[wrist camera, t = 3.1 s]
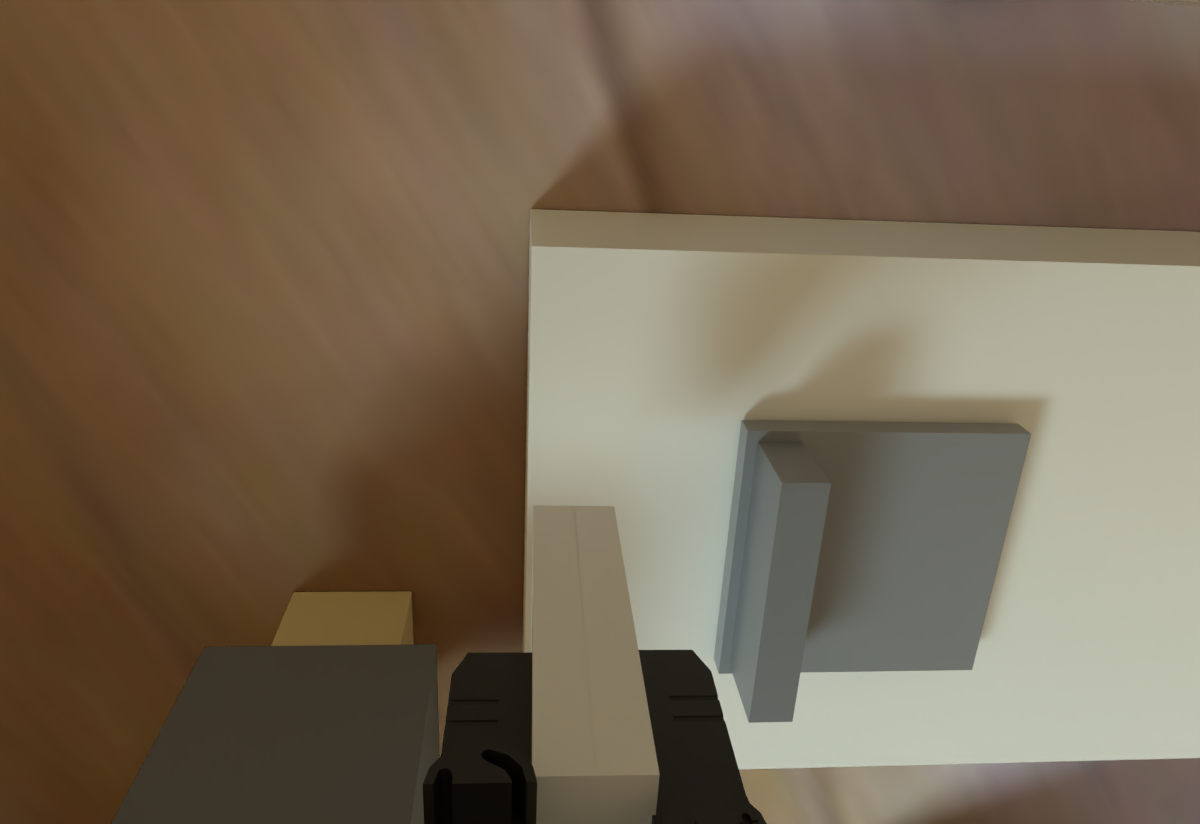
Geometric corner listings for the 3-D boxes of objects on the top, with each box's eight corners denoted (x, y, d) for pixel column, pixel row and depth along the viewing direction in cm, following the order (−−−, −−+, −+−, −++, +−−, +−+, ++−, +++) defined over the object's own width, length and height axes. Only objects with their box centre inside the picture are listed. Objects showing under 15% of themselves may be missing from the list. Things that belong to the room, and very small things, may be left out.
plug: (269, 715, 28) (142, 1051, 18) (250, 559, 25) (96, 851, 16) (451, 711, 28) (417, 1037, 19) (448, 559, 26) (407, 841, 17)
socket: (522, 665, 28) (522, 774, 23) (530, 209, 22) (531, 246, 18) (1185, 656, 30) (1292, 755, 25) (1335, 236, 24) (1503, 275, 20)
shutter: (713, 658, 22) (736, 731, 20) (741, 420, 20) (771, 470, 17) (961, 655, 23) (1012, 726, 21) (1017, 423, 20) (1083, 473, 18)
